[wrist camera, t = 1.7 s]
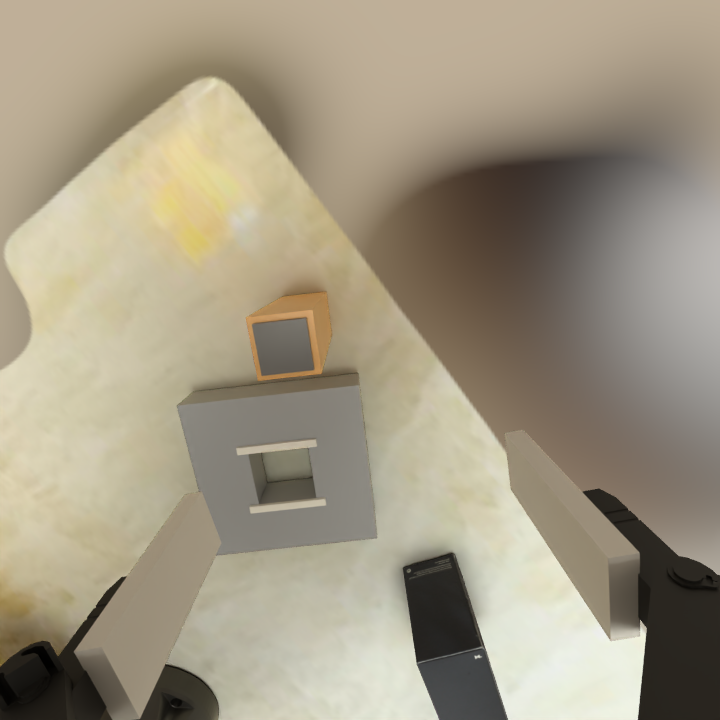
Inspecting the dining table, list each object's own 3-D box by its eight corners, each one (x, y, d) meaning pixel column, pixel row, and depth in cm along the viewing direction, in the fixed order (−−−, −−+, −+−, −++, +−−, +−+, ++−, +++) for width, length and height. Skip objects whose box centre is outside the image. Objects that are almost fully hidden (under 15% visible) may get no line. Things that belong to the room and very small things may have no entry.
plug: (289, 339, 35) (256, 383, 23) (282, 296, 34) (243, 318, 22) (332, 334, 35) (321, 375, 23) (326, 291, 34) (311, 310, 22)
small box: (398, 566, 42) (412, 664, 32) (454, 550, 42) (486, 644, 32) (424, 634, 45) (445, 744, 35) (476, 619, 44) (513, 727, 34)
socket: (227, 530, 40) (215, 557, 37) (193, 391, 36) (175, 407, 32) (375, 514, 40) (377, 540, 36) (358, 373, 36) (358, 386, 32)
